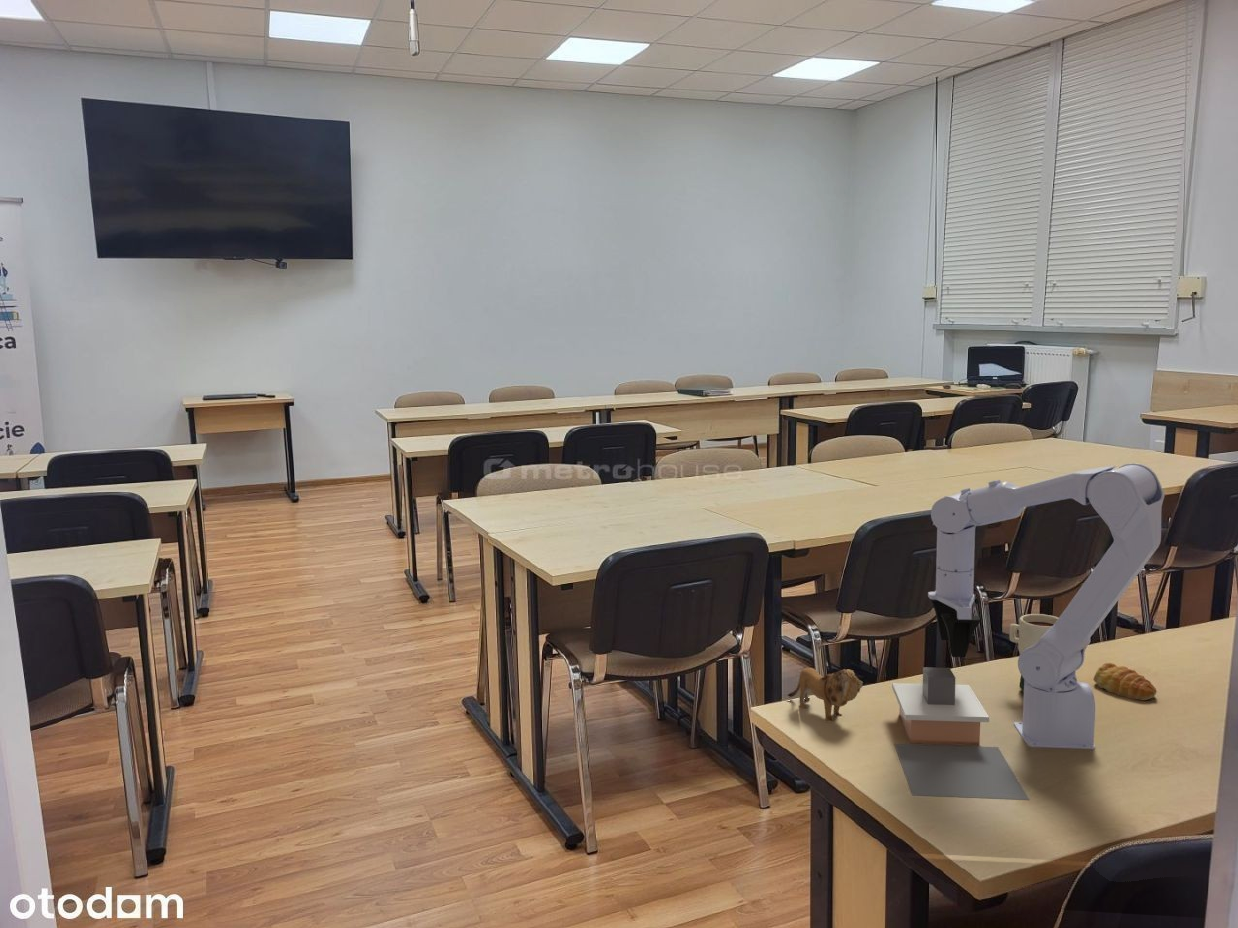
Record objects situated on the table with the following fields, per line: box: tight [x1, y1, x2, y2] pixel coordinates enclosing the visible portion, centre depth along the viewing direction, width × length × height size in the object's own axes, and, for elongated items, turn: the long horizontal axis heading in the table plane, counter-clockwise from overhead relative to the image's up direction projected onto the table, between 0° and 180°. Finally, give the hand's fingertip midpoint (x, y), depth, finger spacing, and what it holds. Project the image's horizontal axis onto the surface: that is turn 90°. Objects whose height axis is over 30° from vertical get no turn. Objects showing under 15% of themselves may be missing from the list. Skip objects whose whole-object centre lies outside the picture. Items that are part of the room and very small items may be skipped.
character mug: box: [1009, 613, 1059, 692], centre depth 151 cm, size 11×7×13 cm, turn 42°
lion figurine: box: [787, 667, 864, 722], centre depth 147 cm, size 15×5×9 cm, turn 37°
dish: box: [898, 707, 981, 746], centre depth 139 cm, size 10×10×4 cm
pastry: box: [1093, 662, 1157, 701], centre depth 152 cm, size 9×7×4 cm
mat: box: [893, 743, 1030, 801], centre depth 127 cm, size 15×15×1 cm
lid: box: [891, 666, 990, 723], centre depth 138 cm, size 12×12×5 cm
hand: (952, 647), depth 146 cm, fingers open, 7 cm apart
